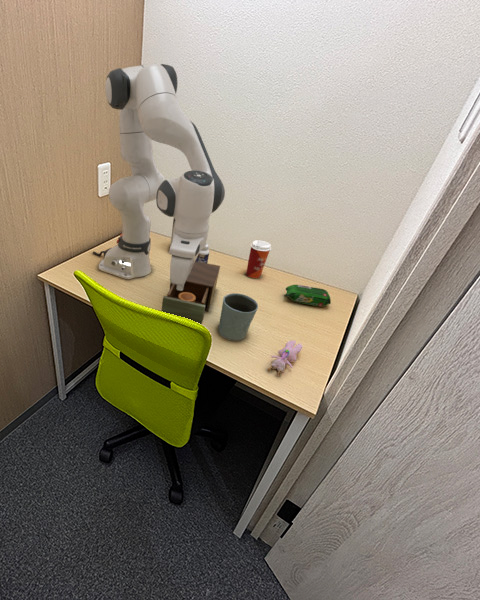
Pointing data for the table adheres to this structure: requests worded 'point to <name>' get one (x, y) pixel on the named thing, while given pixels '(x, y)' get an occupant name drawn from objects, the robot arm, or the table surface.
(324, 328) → the table surface
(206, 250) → the pill bottle
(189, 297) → the terracotta hollow cylinder
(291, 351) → the rabbit figure
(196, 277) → the cabinet
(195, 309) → the drawer
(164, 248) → the table surface
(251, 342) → the table surface
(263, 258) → the paper cup
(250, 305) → the grey green plant pot
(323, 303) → the snack package
